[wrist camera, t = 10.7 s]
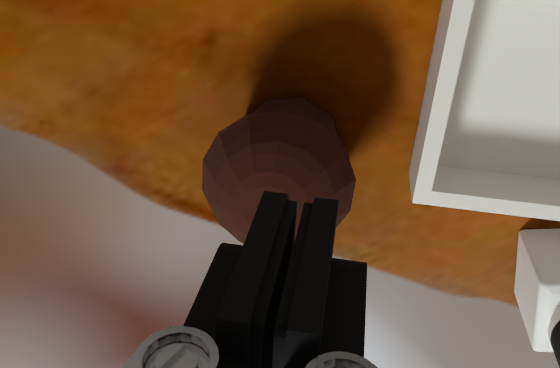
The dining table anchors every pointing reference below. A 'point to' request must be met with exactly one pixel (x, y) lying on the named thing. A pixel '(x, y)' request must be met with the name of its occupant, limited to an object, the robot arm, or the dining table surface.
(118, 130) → the dining table surface
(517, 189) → the case
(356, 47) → the dining table surface
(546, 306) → the medicine bottle
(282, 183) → the muffin
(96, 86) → the dining table surface
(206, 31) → the dining table surface
